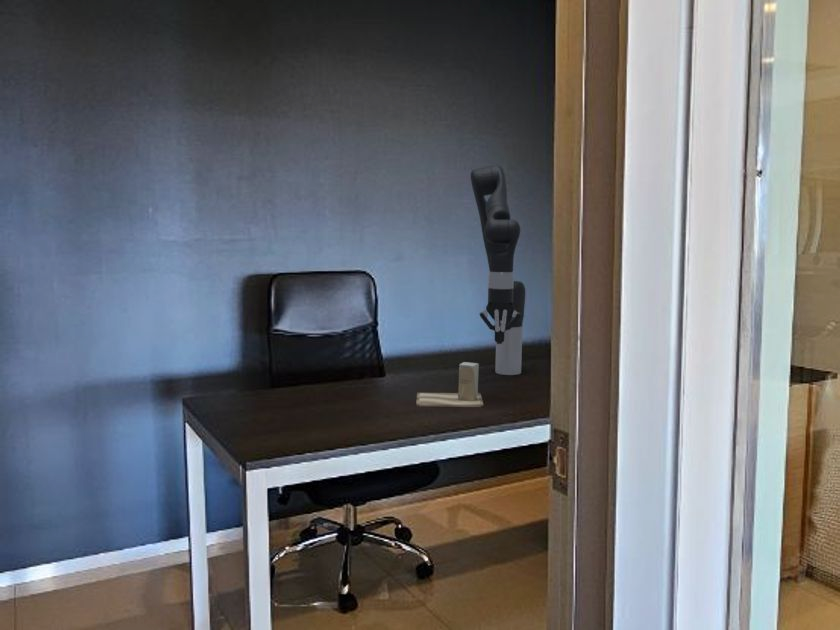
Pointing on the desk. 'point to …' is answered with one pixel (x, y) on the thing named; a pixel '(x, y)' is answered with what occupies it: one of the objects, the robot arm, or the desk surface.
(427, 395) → the mat
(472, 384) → the box
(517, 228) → the robot arm
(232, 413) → the desk surface
